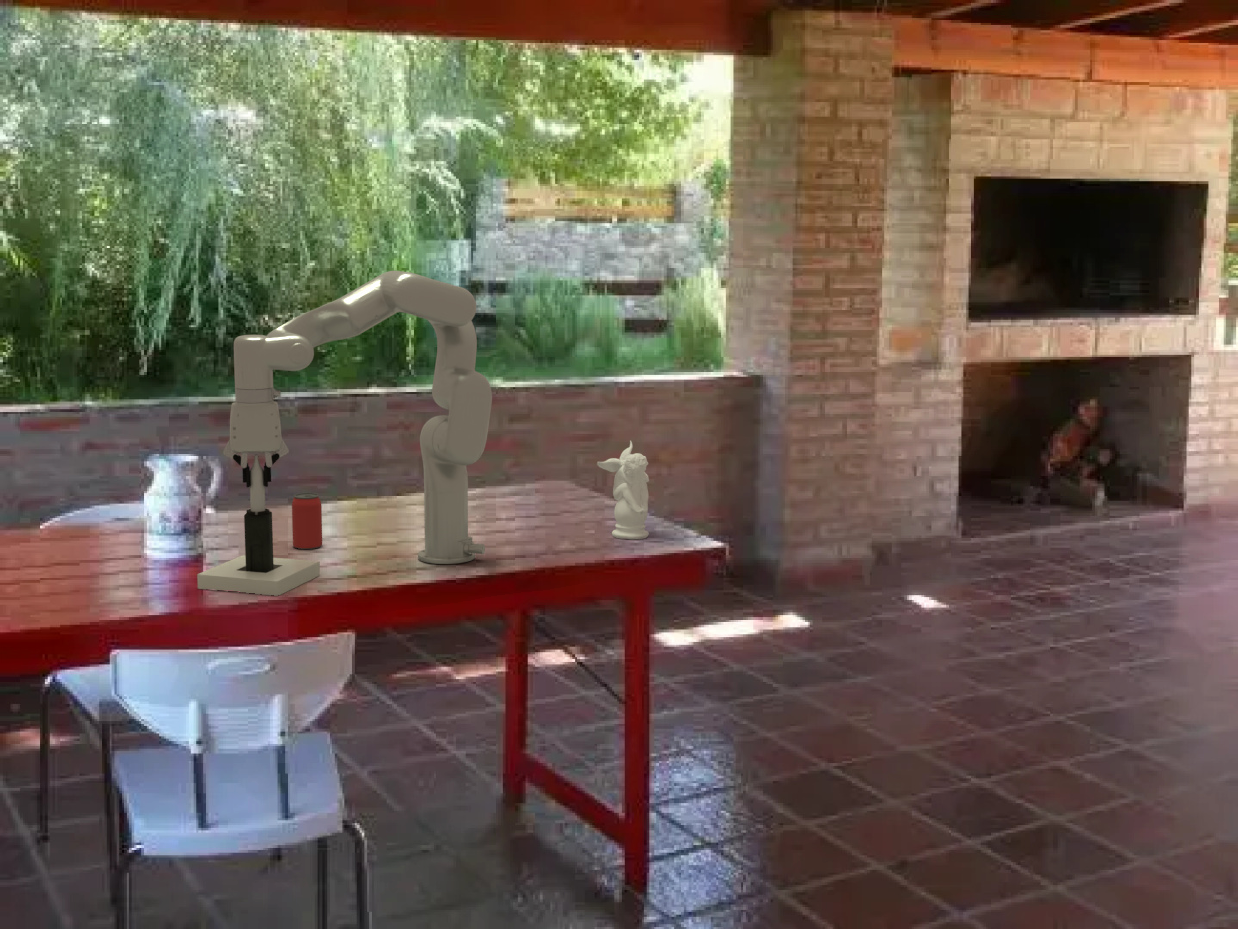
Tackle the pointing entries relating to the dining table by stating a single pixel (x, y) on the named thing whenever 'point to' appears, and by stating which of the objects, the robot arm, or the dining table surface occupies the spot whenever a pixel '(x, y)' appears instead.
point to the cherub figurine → (629, 494)
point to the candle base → (259, 576)
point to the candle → (258, 525)
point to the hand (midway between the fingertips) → (257, 485)
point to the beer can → (307, 521)
